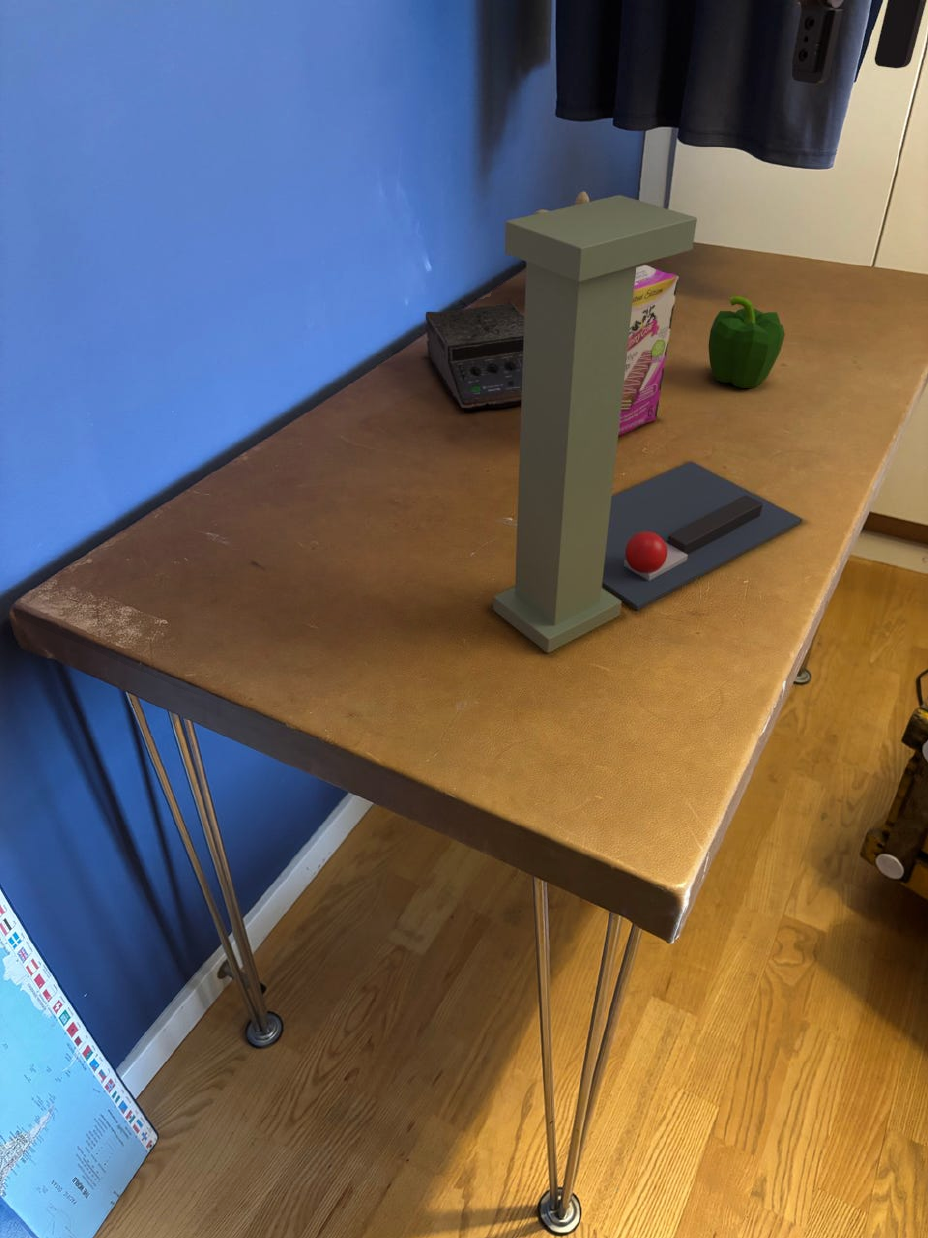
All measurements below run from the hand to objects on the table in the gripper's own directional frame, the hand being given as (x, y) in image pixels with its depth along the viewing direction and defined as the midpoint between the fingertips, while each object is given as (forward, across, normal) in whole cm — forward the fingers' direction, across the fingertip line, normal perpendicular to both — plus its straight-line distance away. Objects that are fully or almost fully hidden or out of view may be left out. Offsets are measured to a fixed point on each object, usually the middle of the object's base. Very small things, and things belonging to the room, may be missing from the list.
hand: (850, 73), depth 57 cm
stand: (+38, +16, -5) cm, 42 cm away
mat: (+38, +1, -8) cm, 39 cm away
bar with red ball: (+37, +1, -5) cm, 38 cm away
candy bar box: (+38, -9, -26) cm, 47 cm away
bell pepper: (+38, -30, -26) cm, 55 cm away
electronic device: (+38, -7, -45) cm, 59 cm away
